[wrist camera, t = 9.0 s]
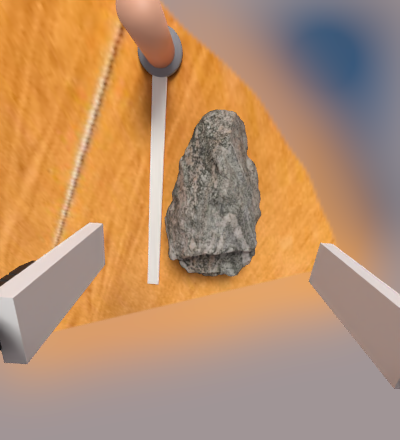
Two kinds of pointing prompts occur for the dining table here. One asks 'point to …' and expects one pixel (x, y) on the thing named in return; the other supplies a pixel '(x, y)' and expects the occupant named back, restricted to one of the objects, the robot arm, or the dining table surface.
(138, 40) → the crank handle
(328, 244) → the robot arm
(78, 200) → the dining table surface
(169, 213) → the rock
